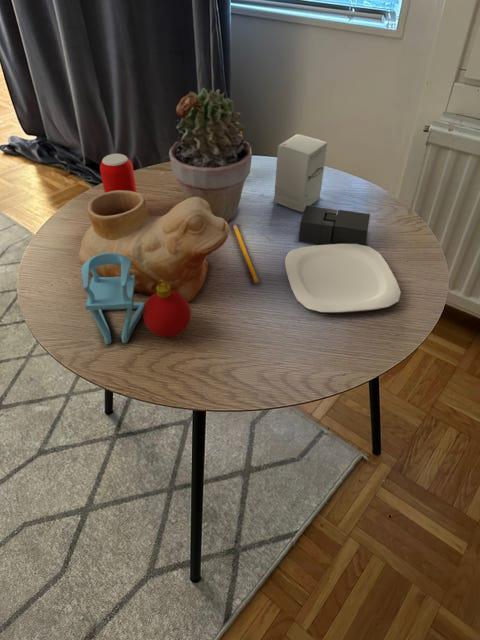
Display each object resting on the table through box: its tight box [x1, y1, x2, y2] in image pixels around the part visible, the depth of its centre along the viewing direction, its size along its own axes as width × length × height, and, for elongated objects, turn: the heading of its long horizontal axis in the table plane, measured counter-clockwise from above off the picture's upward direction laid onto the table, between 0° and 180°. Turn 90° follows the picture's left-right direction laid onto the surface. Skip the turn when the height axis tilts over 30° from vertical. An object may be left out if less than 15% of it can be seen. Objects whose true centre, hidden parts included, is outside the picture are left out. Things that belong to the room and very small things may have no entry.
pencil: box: [232, 223, 259, 284], centre depth 90 cm, size 1×18×1 cm, turn 12°
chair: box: [80, 253, 146, 345], centre depth 72 cm, size 8×8×12 cm
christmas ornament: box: [142, 280, 192, 338], centre depth 72 cm, size 7×7×10 cm
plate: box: [284, 244, 402, 314], centre depth 83 cm, size 18×18×2 cm
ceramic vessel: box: [78, 190, 230, 303], centre depth 80 cm, size 14×26×15 cm, turn 77°
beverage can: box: [99, 153, 138, 193], centre depth 95 cm, size 6×6×12 cm
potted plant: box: [160, 87, 258, 223], centre depth 92 cm, size 18×20×25 cm
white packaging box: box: [273, 133, 328, 213], centre depth 99 cm, size 7×7×13 cm
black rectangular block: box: [325, 209, 371, 246], centre depth 92 cm, size 8×6×4 cm
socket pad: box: [298, 205, 338, 246], centre depth 92 cm, size 6×6×4 cm
